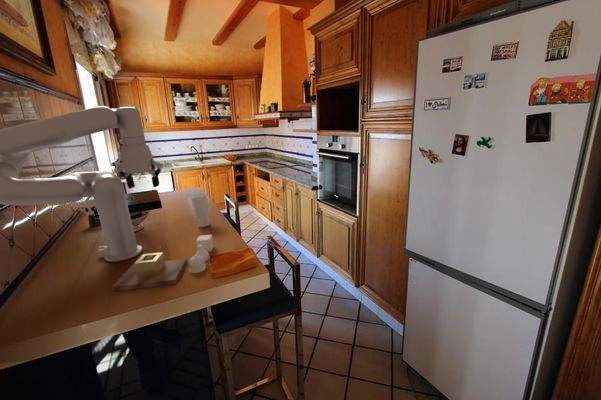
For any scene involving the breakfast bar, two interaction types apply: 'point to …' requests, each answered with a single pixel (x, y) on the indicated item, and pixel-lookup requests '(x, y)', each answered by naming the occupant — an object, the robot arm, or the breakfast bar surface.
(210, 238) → the container set
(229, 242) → the breakfast bar surface
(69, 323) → the breakfast bar surface
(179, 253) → the breakfast bar surface
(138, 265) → the brass collar
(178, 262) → the post board
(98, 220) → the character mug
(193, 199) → the drinking glass
